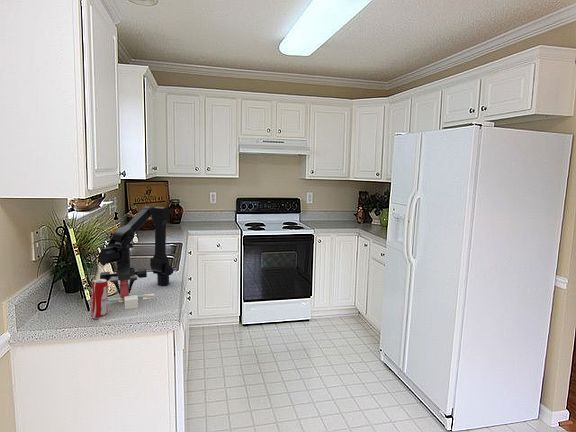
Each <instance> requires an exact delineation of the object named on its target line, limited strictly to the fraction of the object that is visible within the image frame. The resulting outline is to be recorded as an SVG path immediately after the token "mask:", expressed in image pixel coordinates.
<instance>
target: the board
mask: <svg viewBox="0 0 576 432" xmlns="http://www.w3.org/2000/svg"><path fill="white" fill-rule="evenodd" d="M136 295H137V294H136ZM137 297H138V301H140V300H141V301H142V300H149V299H155V298H156V297H155V294H154V293H147V294H140V295H139V294H138V295H137ZM117 303H125V301H124V298H120V297H115V298H114V297H113V298H107V305H110V304H117Z"/></svg>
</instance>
